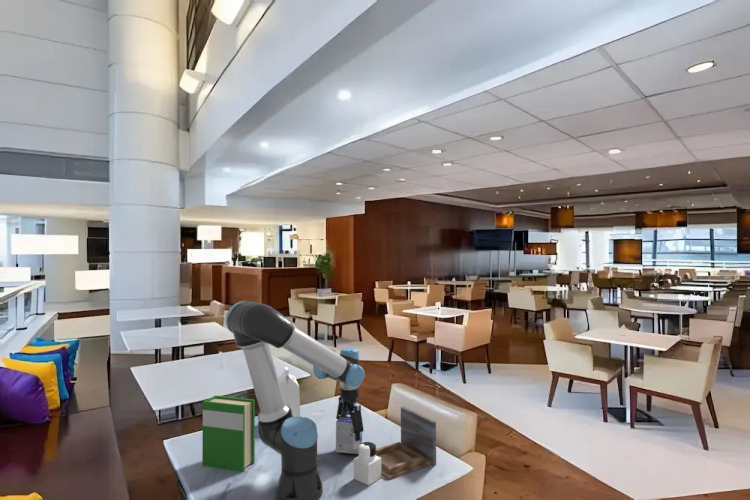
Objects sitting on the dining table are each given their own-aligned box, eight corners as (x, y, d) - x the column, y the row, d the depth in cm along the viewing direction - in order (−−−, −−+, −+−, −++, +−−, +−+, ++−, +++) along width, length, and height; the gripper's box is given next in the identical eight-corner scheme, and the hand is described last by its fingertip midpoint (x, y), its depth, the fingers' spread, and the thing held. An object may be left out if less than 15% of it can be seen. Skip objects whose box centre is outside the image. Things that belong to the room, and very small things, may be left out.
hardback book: (254, 463, 162) (254, 399, 162) (243, 472, 155) (243, 406, 155) (215, 457, 167) (215, 395, 167) (202, 465, 160) (202, 401, 160)
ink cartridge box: (362, 448, 172) (363, 412, 172) (359, 454, 166) (359, 417, 167) (339, 446, 174) (339, 410, 174) (335, 452, 168) (335, 415, 169)
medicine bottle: (366, 471, 155) (366, 438, 155) (381, 477, 151) (381, 443, 151) (353, 479, 150) (353, 444, 150) (368, 486, 145) (368, 450, 145)
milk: (273, 420, 204) (273, 366, 204) (297, 418, 207) (297, 364, 208) (274, 430, 192) (275, 372, 193) (300, 427, 196) (300, 370, 196)
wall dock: (391, 480, 148) (390, 434, 149) (361, 458, 165) (361, 416, 165) (436, 464, 160) (435, 421, 160) (403, 445, 176) (403, 406, 177)
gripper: (372, 393, 163) (372, 451, 163) (343, 379, 182) (343, 431, 182) (356, 396, 159) (355, 456, 159) (328, 382, 178) (327, 435, 178)
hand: (349, 443), depth 170 cm, fingers closed on ink cartridge box, 10 cm apart
